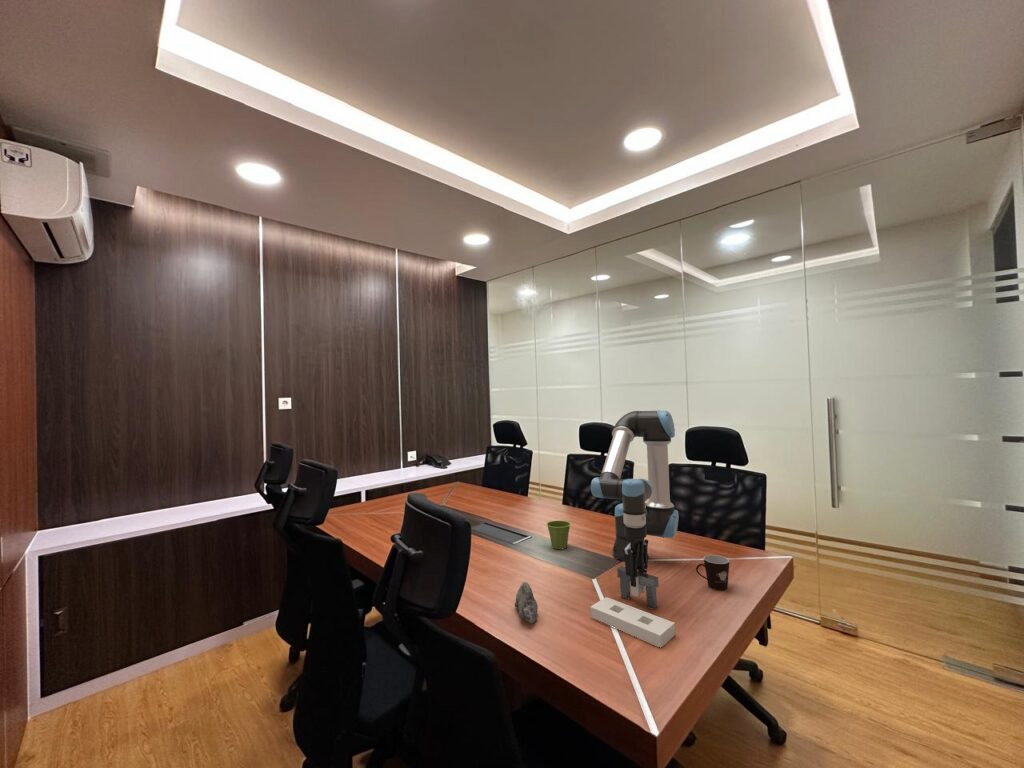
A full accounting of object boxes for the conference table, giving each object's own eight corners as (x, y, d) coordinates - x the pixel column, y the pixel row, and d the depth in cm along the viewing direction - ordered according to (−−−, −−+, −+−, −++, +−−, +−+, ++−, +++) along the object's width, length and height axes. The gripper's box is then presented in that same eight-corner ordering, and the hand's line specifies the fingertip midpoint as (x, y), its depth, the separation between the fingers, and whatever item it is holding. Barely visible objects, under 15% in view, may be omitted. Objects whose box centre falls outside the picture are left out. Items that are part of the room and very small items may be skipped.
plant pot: (575, 545, 200) (574, 521, 201) (565, 553, 190) (564, 528, 191) (554, 541, 207) (553, 518, 207) (542, 549, 197) (541, 525, 197)
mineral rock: (532, 629, 128) (531, 597, 128) (501, 623, 133) (500, 591, 133) (547, 610, 140) (545, 580, 140) (518, 604, 144) (517, 575, 145)
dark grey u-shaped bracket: (618, 597, 147) (617, 568, 147) (623, 594, 149) (621, 566, 149) (655, 610, 137) (653, 580, 137) (659, 607, 139) (658, 577, 139)
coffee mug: (728, 583, 155) (727, 556, 155) (732, 593, 146) (731, 564, 147) (695, 579, 158) (693, 553, 159) (697, 589, 150) (695, 561, 151)
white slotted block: (590, 617, 134) (590, 606, 134) (606, 607, 140) (606, 596, 140) (660, 648, 116) (660, 635, 116) (675, 634, 122) (674, 622, 123)
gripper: (632, 532, 136) (635, 605, 135) (656, 521, 147) (659, 588, 146) (612, 528, 141) (615, 598, 140) (637, 517, 152) (640, 582, 151)
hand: (638, 593), depth 143 cm, fingers closed on dark grey u-shaped bracket, 3 cm apart
